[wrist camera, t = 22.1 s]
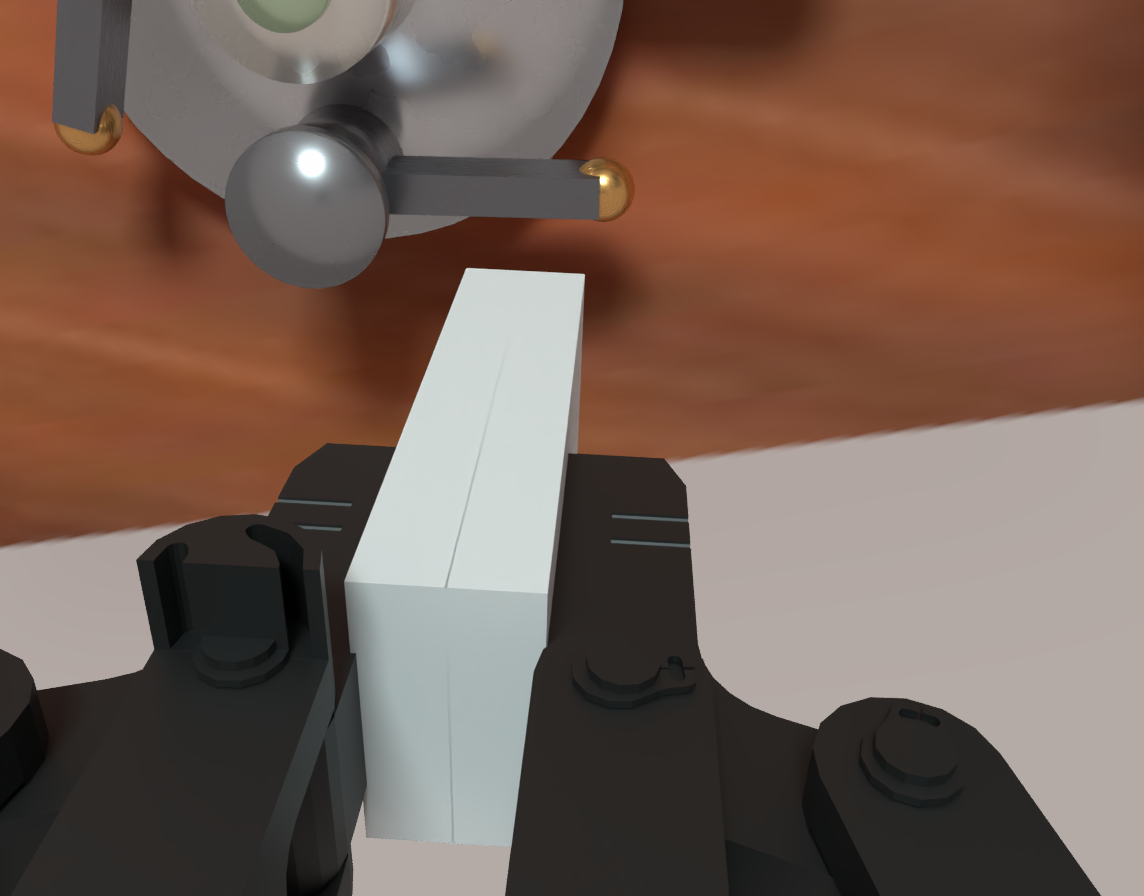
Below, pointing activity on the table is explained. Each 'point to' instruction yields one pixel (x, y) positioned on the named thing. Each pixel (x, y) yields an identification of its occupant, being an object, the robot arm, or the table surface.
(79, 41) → the knob
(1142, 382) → the table surface
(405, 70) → the tribrach plate
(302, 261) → the knob
